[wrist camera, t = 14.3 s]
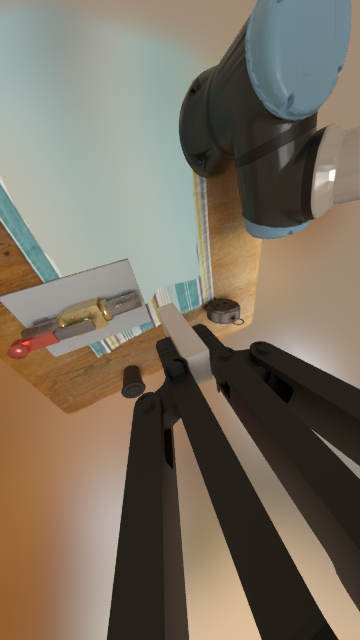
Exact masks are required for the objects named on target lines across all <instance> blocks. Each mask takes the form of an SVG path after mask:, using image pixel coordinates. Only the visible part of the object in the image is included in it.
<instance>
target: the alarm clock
mask: <svg viewBox="0 0 360 640" xmlns="http://www.w3.org/2000/svg"><path fill="white" fill-rule="evenodd" d="M214 299H215V301H212V302H210V303H209V304H208V306H207V308H205V307H203V309H207V317H208V319H209V320H210V321H212V322H215V323H219V324H229V323H233V324H235V323H234V322H235V321H237V320H238V319H240V305H239V304H238V303H237V302H235V301H233V300H229V299H219V300H217V299H216V298H215V297H214ZM240 320H242V319H240ZM242 321H243V323H244V320H242ZM243 323H242V324H243ZM242 324H235V325H242Z"/></svg>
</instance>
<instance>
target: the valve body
mask: <svg viewBox="0 0 360 640" xmlns="http://www.w3.org/2000/svg"><path fill="white" fill-rule="evenodd" d="M119 294H120V296H121V297H118V298H115V299H112V300H109V301H107V300H106V299H103V300H100V299H99V297H95V298H92V299H89V300H86V301H83V302H80V303H77V304H74V305H71V306H68V307H67V308H66V310H65V311H64V313H61V314H58V315H57V318H55V319H52V320H49V319H48V318H47V317H43V318H40V319H37V320H34V321H33V322H32V323H33V324H34V326H31V327H28V328H25V329H23V330H22V332H21V336H22V338H23V339H25V338H28V337H32V336H35V335H38V334H41V333H45V332H48V331H51V330H57V329H61V328H64V327H67V326H71V325H74V324H77V323H80V322H82V320H83V319H84V318H88V319H92V320H93V322H94V323H95V325H96V330H97V329H100V328H103V327H106V326H108V324H109V321H111V320H113V319H115V317H114V316H117V315H120V314H123V313H125V312H128V311H131V310H134V309H137V308H139V307H142V304H141V302H140V299H139V297H138V294H137V292H133V293H131V291H130V289H128V290H125V291H122V292H119ZM93 331H95V330H93ZM90 332H92V331H90ZM87 333H89V332H87ZM84 334H86V333H83V334H80V335H77V337H78V336H81V335H84Z"/></svg>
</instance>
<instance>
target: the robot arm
mask: <svg viewBox="0 0 360 640" xmlns="http://www.w3.org/2000/svg"><path fill="white" fill-rule="evenodd" d="M350 31H351V0H258V1H257V4H256V5H255V7H254V8H253V10H252V13H251V15H250V16H249V18H248V19H247V21H246V23H245V24H244V26H243V27H242V29H241V30H240V32H239V33H238V35H237V37H236V38H235V40H234V41H233V43H232V44H231V46H230V47H229V49H228V50H227V52H226V54H225V55H224V57H223V58H222V60H221V62H220V63H219V64H218V65H217V66H215V67H212V68H210V69H209V70H206V71H204V72H203V73H201V74H200V75H199V76H198V77H197V78H196V79H195V80H194V82H193V83H192V85H191V87H190V88H189V90H188V92H187V94H186V96H185V98H184V101H183V103H182V107H181V111H180V118H179V135H180V142H181V147H182V150H183V153H184V156H185V158H186V160H187V162H188V164H189V165H190V166H191V168H192V169H193V170H194V171H195V172H196V173H197V174H199V175H201V176H203V177H207V178H212V177H216V176H218V175H220V174H222V173H224V172H226V171H227V170H228V169H229V168H230V167H231V166H232V165H233V163H234V162H235V165H236V173H237V179H238V186H239V192H240V199H241V205H242V217H243V219H244V222H245V227H246V230H247V232H248V233H249V234H250V235H251V236H253V237H256V238H260V239H275V238H281V237H285V236H286V235H288V234H291V235H292V234H295V233H297V232H299V231H301V230H302V229H304V228H305V227H306V226H307V225H308V223H309V222H310V220H313V219H317V218H320V217H321V216H322V215H323V214H324V213H325V212H326V211H327V210H328V209H330V208H331V207H332V206H334V205H337V204H341V203H345V202H350V201H355V200H359V199H360V126H358V127H356V128H354V129H351V130H344V129H342V128H341V127H339V126H338V125H336V124H331V125H329V126H327V127H324V128H322V129H320V130H318V131H317V130H316V124H317V111H318V109H319V108H320V107H321V105H322V104H323V103H324V102H325V101H326V100H327V98H328V97H329V95H330V94H331V92H332V90H333V89H334V87H335V85H336V83H337V81H338V73H339V72H340V71H341V70H342V68H343V65H344V62H345V58H346V55H347V50H348V45H349V39H350ZM156 309H157V312H158V315H159V318H160V321H161V324H162V327H163V330H164V333H165V335H166V337H167V338H164V339H162V340H159V341H157V344H156V349H157V351H158V354H159V357H160V360H161V363H162V365H163V368H164V373H165V375H166V379H165V382H164V384H163V385H162V386H161V387H160V388H159V389H158V390H157V391H156V392H155V393H154V392H147V393H145V394H143V395H142V396H140V397H139V398H138V400H137V401H136V403H135V407H134V413H133V421H132V430H131V438H130V447H129V455H128V464H127V472H126V480H125V489H124V498H123V506H122V515H121V523H120V532H119V540H118V549H117V557H116V566H115V575H114V583H113V592H112V600H111V609H110V617H109V626H108V635H107V640H189V632H188V619H187V608H186V607H187V606H186V593H185V580H184V567H183V554H182V542H181V541H182V540H181V528H180V514H179V502H178V489H177V475H176V462H175V449H174V436H173V425H174V424H175V423H176V422H177V421H178V420H179V419H180V418H182V421H183V424H184V427H185V430H186V432H187V435H188V437H189V441H190V443H191V446H192V449H193V452H194V454H195V457H196V460H197V463H198V465H199V468H200V471H201V473H202V476H203V479H204V482H205V485H206V487H207V490H208V493H209V496H210V498H211V501H212V504H213V507H214V509H215V512H216V515H217V518H218V520H219V523H220V526H221V528H222V531H223V534H224V537H225V540H226V542H227V545H228V548H229V551H230V553H231V556H232V559H233V562H234V565H235V567H236V570H237V573H238V576H239V578H240V581H241V584H242V587H243V589H244V592H245V595H246V597H247V600H248V603H249V606H250V608H251V611H252V614H253V617H254V619H255V622H256V625H257V628H258V630H259V633H260V636H261V639H262V640H338V638H337V637H336V635H335V634H334V632H333V630H332V629H331V627H330V626H329V624H328V623H327V621H326V619H325V618H324V616H323V614H322V613H321V611H320V609H319V607H318V606H317V604H316V602H315V600H314V598H313V597H312V595H311V593H310V591H309V589H308V588H307V586H306V584H305V582H304V580H303V578H302V576H301V574H300V573H299V571H298V569H297V567H296V565H295V563H294V562H293V560H292V558H291V556H290V554H289V552H288V551H287V549H286V547H285V545H284V543H283V541H282V539H281V538H280V536H279V534H278V532H277V530H276V529H275V527H274V525H273V523H272V521H271V519H270V517H269V515H268V514H267V512H266V510H265V508H264V506H263V505H262V503H261V501H260V499H259V497H258V495H257V493H256V492H255V490H254V488H253V486H252V484H251V482H250V480H249V479H248V477H247V475H246V473H245V471H244V470H243V468H242V466H241V464H240V462H239V460H238V458H237V456H236V455H235V453H234V451H233V450H232V447H231V445H230V444H229V442H228V440H227V438H226V436H225V434H224V433H223V431H222V429H221V427H220V425H219V423H218V421H217V420H216V418H215V416H214V414H213V413H212V411H211V408H210V407H209V405H208V403H207V401H206V399H205V398H204V396H203V394H202V392H201V390H200V388H199V386H198V385H200V384H202V383H204V382H206V381H209V380H211V379H212V374H213V376H214V377H215V379H216V384H217V390H218V392H220V390H221V392H222V393H223V395H224V396H225V398H226V399H227V401H228V402H229V404H230V405H231V407H232V409H233V410H234V412H235V413H236V415H237V416H238V418H239V419H240V421H241V422H242V424H243V425H244V427H245V428H246V430H247V432H248V433H249V435H250V436H251V438H252V439H253V441H254V442H255V444H256V445H257V447H258V448H259V450H260V451H261V453H262V454H263V456H264V457H265V459H266V460H267V462H268V463H269V465H270V467H271V468H272V470H273V471H274V473H275V474H276V475H277V477H278V479H279V480H280V482H281V483H282V485H283V486H284V488H285V489H286V491H287V492H288V494H289V496H290V497H291V499H292V500H293V501H294V503H295V505H296V506H297V508H298V509H299V511H300V512H301V514H302V515H303V517H304V519H305V520H306V522H307V523H308V525H309V526H310V528H311V529H312V531H313V532H314V534H315V535H316V537H317V538H318V540H319V541H320V543H321V544H322V546H323V547H324V549H325V551H326V552H327V554H328V555H329V557H330V559H331V561H332V562H333V565H334V567H335V570H336V573H337V575H338V576H339V579H340V580H341V582H342V584H343V586H344V587H345V589H346V591H347V592H348V594H349V596H350V597H351V599H352V600H353V602H354V603H355V605H356V607H357V608H358V610H359V611H360V479H359V478H358V477H357V476H356V475H355V474H354V473H353V472H352V471H351V470H350V469H349V468H348V467H347V466H346V465H345V464H344V463H343V462H342V461H341V459H340V458H339V457H338V456H337V455H336V454H335V453H334V452H333V451H332V450H331V449H330V448H329V447H328V446H327V445H326V444H325V443H324V442H323V441H322V440H321V439H320V438H319V437H318V436H317V435H316V434H315V433H314V432H313V431H315V432H316V433H317V434H319V435H320V436H321V437H322V438H324V439H325V440H326V441H328V442H329V443H330V444H332V445H333V446H334V447H336V448H337V449H338V450H339V451H341V452H342V453H343V454H345V455H346V456H347V457H349V458H350V459H352V460H353V461H354V462H355V463H356V464H358V465H359V466H360V389H358V388H356V387H354V386H352V385H350V384H348V383H346V382H344V381H342V380H340V379H338V378H336V377H334V376H332V375H331V374H329V373H327V372H324V371H322V370H321V369H319V368H317V367H314V366H313V365H311V364H309V363H307V362H305V361H303V360H301V359H299V358H297V357H295V356H293V355H291V354H289V353H287V352H285V351H283V350H281V349H279V348H277V347H275V346H274V345H272V344H269V343H267V342H262V341H259V342H254V343H252V344H251V346H250V349H246V350H239V351H235V350H233V349H231V348H228V347H225V346H224V345H223V344H222V343H221V342H220V341H219V340H218V339H217V337H216V336H215V335H214V334H213V333H212V332H211V331H210V330H209V329H208V328H207V327H206V326H205V325H202V324H198V325H195V326H193V327H191V326H190V325H189V323H188V322H187V321H186V320H185V318H184V317H183V316H182V314H181V313H180V312H179V311H178V309H177V308H176V307H175V306H174V304H173V303H170V304H167V305H164V306H161V307H159V308H156ZM310 428H311V429H312V430H313V431H312V430H311V429H310Z"/></svg>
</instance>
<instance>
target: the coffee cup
mask: <svg viewBox="0 0 360 640" xmlns="http://www.w3.org/2000/svg"><path fill="white" fill-rule="evenodd" d="M144 390H145V384H144V383H143V381H142V378H141V375H140V372H139V370H138V367H136V366H129V367H127V368H126V369H125V370H124V379H123V388H122V391H121V393H122V395H123V396H124V397H126V398H135V397H138V396H140V395H141V394H142V393H143V392H144Z"/></svg>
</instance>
